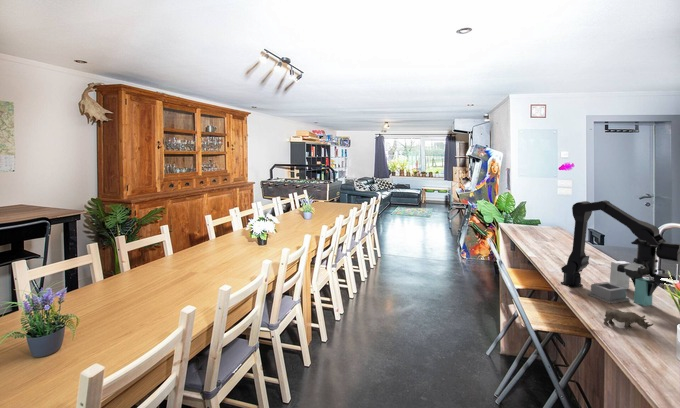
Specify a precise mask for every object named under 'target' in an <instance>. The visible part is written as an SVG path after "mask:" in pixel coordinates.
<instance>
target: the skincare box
mask: <svg viewBox="0 0 680 408" xmlns="http://www.w3.org/2000/svg"><path fill="white" fill-rule="evenodd" d="M619 264H631V262H628V261H624V260H618V261H617V260H616V261H611V262H610V273H609V274H610V275H609V283H612V284H615V285H618V286H621V287H624V288H627V289H630V279H631V278H630V277H629V276H627V275H626V274H625V272H624V273H622V272H619V271H617V266H618V265H619Z"/></svg>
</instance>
